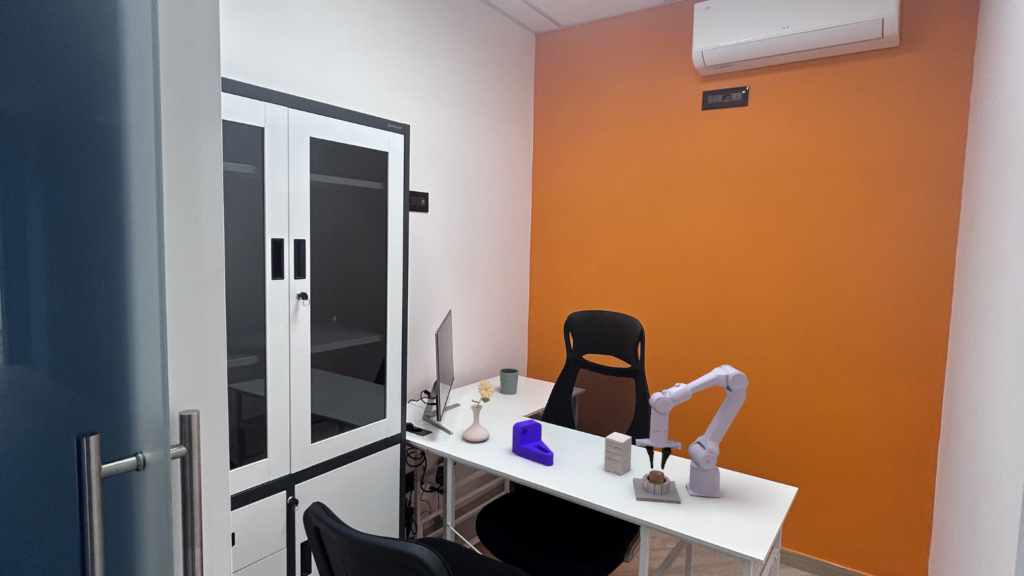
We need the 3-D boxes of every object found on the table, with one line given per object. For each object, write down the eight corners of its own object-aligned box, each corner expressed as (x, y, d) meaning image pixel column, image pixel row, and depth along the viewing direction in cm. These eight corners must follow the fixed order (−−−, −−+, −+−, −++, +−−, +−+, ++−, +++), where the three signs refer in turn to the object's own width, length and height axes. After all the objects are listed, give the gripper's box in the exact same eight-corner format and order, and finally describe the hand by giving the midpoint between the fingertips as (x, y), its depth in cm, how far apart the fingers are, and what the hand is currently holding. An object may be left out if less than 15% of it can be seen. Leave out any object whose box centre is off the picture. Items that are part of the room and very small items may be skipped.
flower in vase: (466, 445, 220) (467, 385, 218) (459, 435, 231) (459, 377, 228) (497, 441, 225) (498, 382, 222) (488, 431, 236) (489, 375, 233)
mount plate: (673, 483, 191) (674, 481, 191) (680, 503, 177) (681, 500, 177) (632, 480, 193) (633, 477, 193) (636, 500, 179) (636, 497, 179)
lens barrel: (667, 483, 189) (668, 474, 188) (671, 496, 180) (672, 486, 179) (641, 481, 190) (641, 472, 189) (644, 494, 181) (644, 484, 181)
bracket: (512, 452, 215) (512, 423, 214) (534, 446, 221) (535, 418, 220) (539, 469, 200) (540, 438, 199) (562, 462, 206) (563, 432, 205)
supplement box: (613, 463, 206) (614, 431, 205) (631, 469, 202) (632, 436, 200) (603, 470, 201) (604, 436, 199) (621, 476, 196) (622, 442, 195)
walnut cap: (662, 486, 187) (663, 470, 186) (664, 492, 182) (665, 476, 181) (648, 485, 187) (648, 469, 187) (649, 491, 183) (650, 475, 182)
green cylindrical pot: (509, 388, 299) (509, 367, 297) (522, 392, 291) (522, 370, 290) (495, 392, 292) (495, 370, 291) (508, 396, 284) (508, 374, 283)
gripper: (679, 426, 185) (677, 464, 187) (635, 423, 187) (634, 461, 189) (683, 433, 178) (680, 473, 180) (637, 430, 180) (635, 470, 182)
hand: (657, 468), depth 184 cm, fingers open, 3 cm apart
